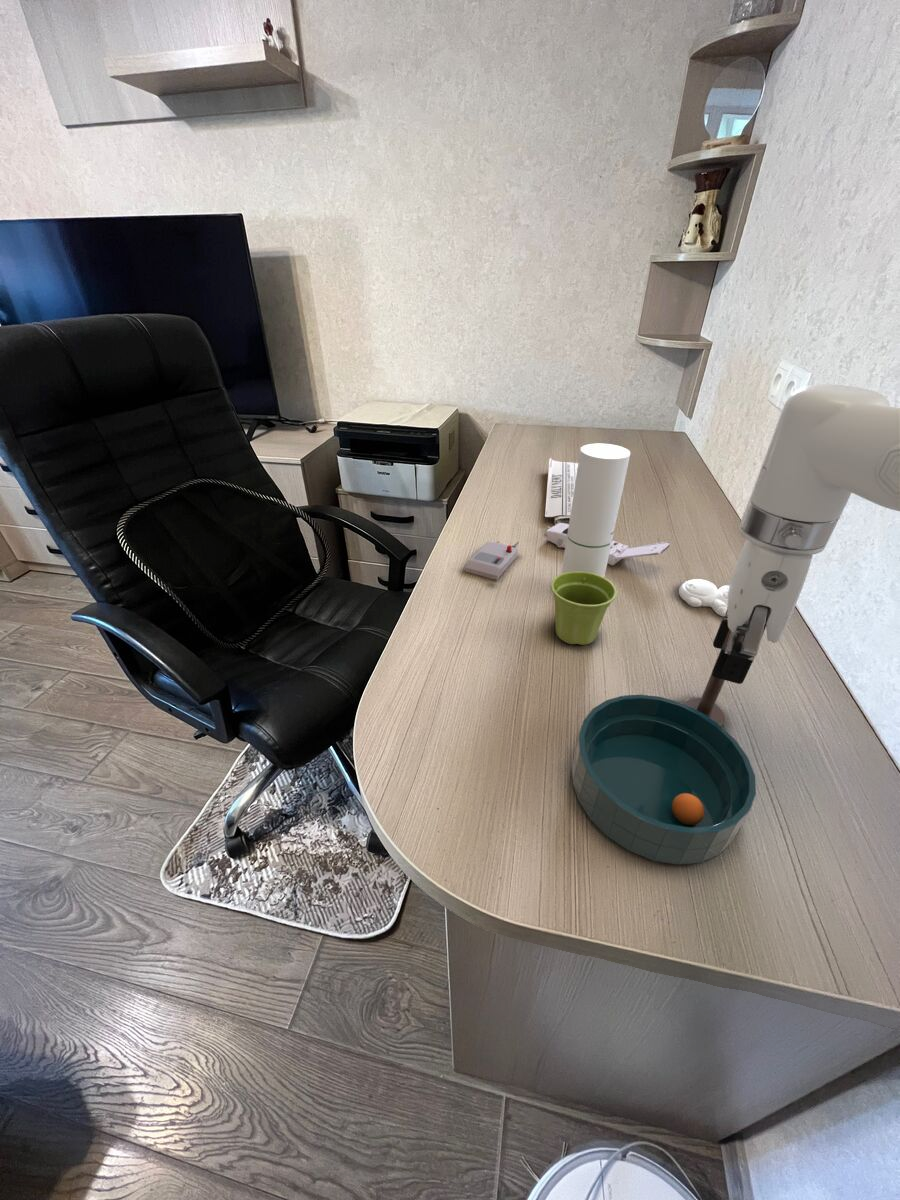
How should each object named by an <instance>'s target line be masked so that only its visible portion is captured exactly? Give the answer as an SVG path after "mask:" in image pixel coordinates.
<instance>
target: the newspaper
mask: <svg viewBox="0 0 900 1200" xmlns="http://www.w3.org/2000/svg"><path fill="white" fill-rule="evenodd" d="M548 461H549V462H548V472H547V482H546V483H547V484H546V496H545V497H546V498H545V511H544V513H545V514H544V517H545V518H554V519H553V521H554V525H556V524H558V523H565V524H569V521H570V514H571V508H572V501H573V495H574V488H575V482H576V476H577V469H578V463H579V462H573V461H572V462H571V461H570V462H569V461H558V460H554V459H552V458H551V457H549V459H548Z"/></svg>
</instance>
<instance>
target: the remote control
mask: <svg viewBox="0 0 900 1200" xmlns="http://www.w3.org/2000/svg"><path fill="white" fill-rule="evenodd" d="M518 544H520V541H516V543H514V544H513V545H508V544H503V543H500V541H499V540H498V541H497V542H495V541H486V542H485V543H484V544H483V545H482V546H481V547H480V548H479V549H478V550H476V552H475V553H474V554H473V555H472V556H471V557H470V558H469V559H468V560H467V562H466V564H465V566H464V572H466V573H469V574H472V575H476V576H480V577H484V578H487V579H491V580H495V581H497V580H499V578H500V577H501V576H502V575H503V573H504V572H505V571H506V570H507V569H508V567H510V565H511V564H512V563H513V562H514V560H515V559H516V558H517V557H518V549H517V548H516V547H518ZM478 582H480V581H478Z"/></svg>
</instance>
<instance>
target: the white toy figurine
mask: <svg viewBox="0 0 900 1200" xmlns="http://www.w3.org/2000/svg"><path fill="white" fill-rule="evenodd" d="M729 585H730V584H727V585H722V586H720V587H719V588H718V587H717V585H716V584H715V583H713V582H711V581H709V580H707V579H701V578H694V579H688V580H686V581H684V582H683V583H682V584H681V585H680V586H679V590H678V595H679V597H680V598H681V599H682V600H683V601H684V602H685V603H687V605H688V606H690V607H692V608H693V607H694V608H700V607H710V608H712V610H713V611H714V612H715V614H717V615H718V616H721V617H725V614H726V611H727V609H728V590H729Z"/></svg>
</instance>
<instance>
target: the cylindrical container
mask: <svg viewBox="0 0 900 1200" xmlns="http://www.w3.org/2000/svg"><path fill="white" fill-rule="evenodd" d="M630 457H631V451H630V450H629V449H628V448H626V447H623V446H620V445H617V444H611V443H602V442H601V443H600V442H599V443H598V442H597V443H589V444H584V445H582V446H581V447H580V451H579V457H578V462H577V463H578V469H577V476H576V482H575V488H574V495H573V501H572V508H571V514H570V521H569V527H568V534H567V540H566V547H565V548H564V554H563V560H562V567H561V572H560V574H562V573H566V572H572V571H583V572H590V573H594V574H596V575H600V576H602V577H604V578H605V577H606V576H605V575H606V572H607V566H608V564H607V562H608V557H609V553H610V548H611V543H612V540H613V538H614V533H615V528H616V524H617V519H618V515H619V509H620V505H621V500H622V497H623V491H624V486H625V481H626V476H627V473H628V467H629V462H630Z"/></svg>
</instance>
